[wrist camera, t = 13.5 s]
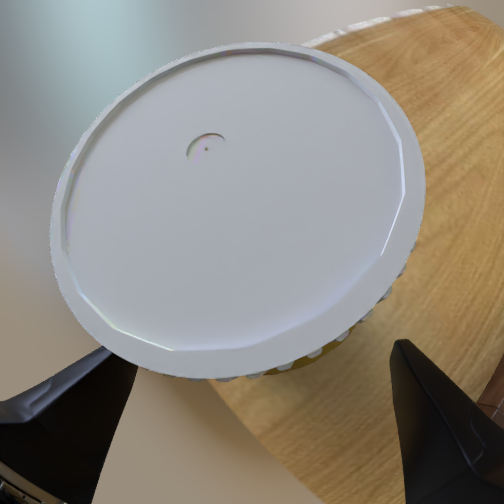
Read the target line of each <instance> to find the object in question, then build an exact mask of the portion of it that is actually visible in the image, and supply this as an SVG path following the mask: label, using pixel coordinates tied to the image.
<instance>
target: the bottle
mask: <svg viewBox="0 0 504 504" xmlns="http://www.w3.org/2000/svg"><path fill="white" fill-rule="evenodd" d="M425 190H426V182H425V169H424V162H423V157H422V153H421V149H420V146H419V143H418V140H417V137H416V135H415V132H414V130H413V128H412V126H411V124H410V122H409V120H408V118H407V117H406V115H405V114H404V112H403V110H402V109H401V108H400V106H399V105H398V103H397V102H396V101H395V100H394V99H393V97H392V96H391V95H390V94H389V93H388V92H387V91H386V90H385V89H384V88H383V87H382V86H381V85H380V84H379V83H378V82H377V81H375V80H374V79H373V78H372V77H370V76H369V75H368V74H366V73H365V72H363V71H362V70H360V69H359V68H357V67H355V66H354V65H352V64H350V63H348V62H346V61H344V60H342V59H340V58H338V57H336V56H333V55H331V54H328V53H325V52H322V51H319V50H316V49H312V48H309V47H304V46H300V45H294V44H287V43H277V42H247V43H237V44H230V45H224V46H219V47H214V48H210V49H206V50H203V51H200V52H196V53H193V54H190V55H187V56H185V57H182V58H180V59H177V60H175V61H173V62H171V63H169V64H166V65H164V66H162V67H160V68H158V69H157V70H155V71H153V72H151V73H150V74H148V75H146V76H145V77H143V78H142V79H140V80H139V81H137V82H136V83H135V84H133V85H132V86H130V87H129V88H128V89H126V90H125V91H124V92H123V93H121V94H120V95H119V96H118V97H117V98H116V99H114V100H113V101H112V102H111V103H110V104H109V105H108V106H107V107H106V108H105V109H104V110H103V111H102V112H101V113H100V114H99V116H98V117H97V118H96V119H95V120H94V121H93V123H92V124H91V125H90V126H89V128H88V129H87V130H86V132H85V133H84V134H83V136H82V137H81V139H80V140H79V142H78V143H77V145H76V147H75V149H74V150H73V152H72V154H71V156H70V158H69V160H68V161H67V164H66V166H65V168H64V170H63V173H62V175H61V178H60V180H59V183H58V186H57V190H56V193H55V197H54V202H53V206H52V212H51V220H50V251H51V258H52V264H53V269H54V273H55V276H56V280H57V283H58V285H59V288H60V290H61V293H62V295H63V297H64V299H65V301H66V303H67V305H68V306H69V308H70V310H71V311H72V313H73V314H74V316H75V317H76V319H77V320H78V321H79V323H80V324H81V325H82V326H83V327H84V328H85V329H86V331H88V333H90V334H91V336H92V337H94V338H95V339H96V340H97V341H98V342H99V343H101V344H102V345H103V346H104V347H106V348H107V349H108V350H110V351H112V352H113V353H115V354H116V355H118V356H120V357H121V358H123V359H125V360H127V361H129V362H131V363H134V364H136V365H138V366H140V367H141V368H143V369H146V370H152V371H156V372H160V373H162V374H163V375H164V376H167V377H171V378H172V377H177V376H179V377H187V379H189V380H190V381H197V382H199V381H202V380H206V379H209V378H215V380H217V381H218V382H229V381H231V380H233V379H235V378H237V377H239V376H243V375H246V377H247V378H249V379H253V378H258V377H260V376H262V375H272V374H278V373H282V372H286V371H290V370H293V369H297V368H301V367H304V366H307V365H309V364H311V363H313V362H315V361H317V360H318V359H320V358H321V357H322V356H324V355H325V354H327V353H328V352H330V351H331V350H333V349H334V348H336V347H337V346H338V345H340V344H341V343H342V342H343V341H344V340H345V339H346V338H347V337H348V336H349V334H350V333H351V332H352V330H353V329H354V328H355V326H356V325H357V324H359V323H362V322H364V321H366V320H367V319H368V318H369V317H370V316H371V315H372V312H373V309H372V308H373V307H374V306H375V305H376V304H377V303H379V302H381V301H382V300H384V299H386V298H387V297H388V295H389V294H390V293H391V290H392V286H391V285H392V284H393V282H394V281H395V280H396V279H397V278H398V277H399V276H401V275H402V274H403V272H404V270H405V269H406V261H407V259H408V257H409V255H410V253H411V252H412V251H413V250H414V248H415V245H416V238H417V235H418V232H419V229H420V226H421V224H422V216H423V211H424V204H425Z"/></svg>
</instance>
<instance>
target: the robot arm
mask: <svg viewBox="0 0 504 504" xmlns="http://www.w3.org/2000/svg"><path fill="white" fill-rule="evenodd" d="M137 369H138V365H136V364H134V363H131V362H129V361H127V360H125V359H123V358H121V357H120V356H118V355H116V354H115V353H113V352H112V351H110V350H108V349H107V348H106V347H104V346H101V347H100V348H98V349H96V350H95V351H93V352H92V353H90V354H88V355H86V356H85V357H83V358H81V359H80V360H78V361H76V362H75V363H73V364H71V365H70V366H68V367H67V368H65V369H63V370H62V371H60V372H58V373H57V374H55V375H54V376H52V377H50V378H48V379H47V380H45V381H43V382H41V383H40V384H38V385H36V386H34V387H33V388H30V389H28V390H26V391H24V392H22V393H21V394H18V395H16V396H14V397H12V398H10V399H8V400H5V401H0V504H64V502H65V503H67V504H91V503H92V500H93V497H94V493H95V490H96V487H97V484H98V480H99V477H100V473H101V471H102V468H103V465H104V462H105V459H106V456H107V453H108V450H109V448H110V445H111V442H112V439H113V436H114V434H115V431H116V428H117V426H118V423H119V420H120V417H121V415H122V412H123V410H124V407H125V405H126V402H127V400H128V397H129V395H130V392H131V389H132V386H133V383H134V380H135V376H136V373H137ZM390 372H391V383H392V395H393V405H394V411H395V416H396V422H397V428H398V434H399V441H400V448H401V456H402V464H403V474H404V485H405V499H406V504H504V429H502V428H501V427H500V426H499V425H498V424H496V423H495V422H494V421H493V420H492V419H491V418H490V417H489V416H488V415H486V414H485V413H484V412H483V411H482V410H481V409H480V408H479V407H478V406H477V405H476V404H475V403H474V402H473V403H472V400H471V399H470V398H469V397H468V396H467V395H466V394H465V393H464V392H463V391H462V390H461V389H460V388H459V387H458V386H457V385H456V384H455V383H454V382H453V381H452V380H451V379H450V378H449V377H448V376H447V375H446V374H445V373H444V372H443V371H442V370H441V369H440V368H438V367H437V366H436V365H435V364H434V363H433V362H432V361H431V360H430V359H429V358H428V357H427V356H426V355H425V354H424V353H423V352H421V351H420V350H419V349H418V348H417V347H416V346H415V345H414V344H413V343H412V342H411V341H410V340H408V339H399V340H396V341H395V343H394V346H393V349H392V352H391V356H390Z"/></svg>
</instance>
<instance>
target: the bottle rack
mask: <svg viewBox="0 0 504 504" xmlns="http://www.w3.org/2000/svg"><path fill="white" fill-rule="evenodd" d="M476 405H477V406H478V407H479V408H480V409H481V410H482V411H483V412H484V413H485V414H486V415H488V416H489V417H490V418H491V419H492V420H493V421H494V422H495V423H496V424H498V425H499V426H500V427H501V428H502V429H504V414H503V413H504V354H503V356H502V358H501V360H500V362H499V364H498V366H497V368H496V370H495V372H494V374H493V376H492V377H491V379H490V381H489V383H488V385H487V386H486V388H485V390H484V391H483V393H482V395H481V396H480V398H479V400H478V401H477V403H476Z"/></svg>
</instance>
